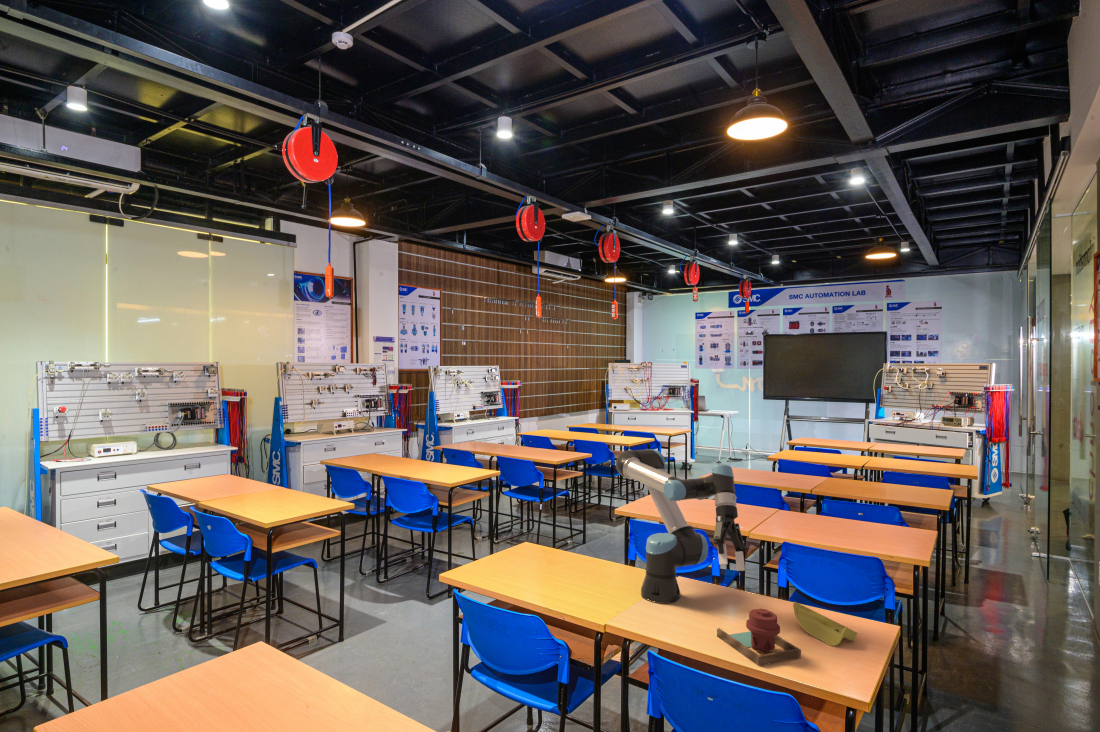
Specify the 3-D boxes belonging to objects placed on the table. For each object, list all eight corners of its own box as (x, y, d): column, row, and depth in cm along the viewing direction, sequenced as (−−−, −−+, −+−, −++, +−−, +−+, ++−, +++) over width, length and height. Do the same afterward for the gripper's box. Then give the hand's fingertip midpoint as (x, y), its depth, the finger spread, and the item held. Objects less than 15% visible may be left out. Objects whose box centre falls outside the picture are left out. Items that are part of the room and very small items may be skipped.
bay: (716, 636, 183) (717, 628, 183) (756, 630, 189) (756, 622, 189) (758, 665, 164) (758, 657, 164) (801, 658, 170) (801, 649, 170)
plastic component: (860, 634, 182) (844, 626, 178) (852, 655, 181) (836, 648, 177) (807, 607, 200) (791, 599, 195) (800, 627, 198) (783, 620, 194)
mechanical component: (778, 661, 167) (743, 653, 172) (781, 647, 176) (748, 640, 181) (778, 620, 168) (744, 613, 172) (781, 608, 177) (748, 602, 181)
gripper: (719, 497, 193) (726, 560, 182) (750, 513, 209) (757, 572, 198) (700, 500, 197) (705, 562, 187) (731, 515, 213) (738, 573, 203)
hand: (732, 567), depth 193 cm, fingers open, 13 cm apart
